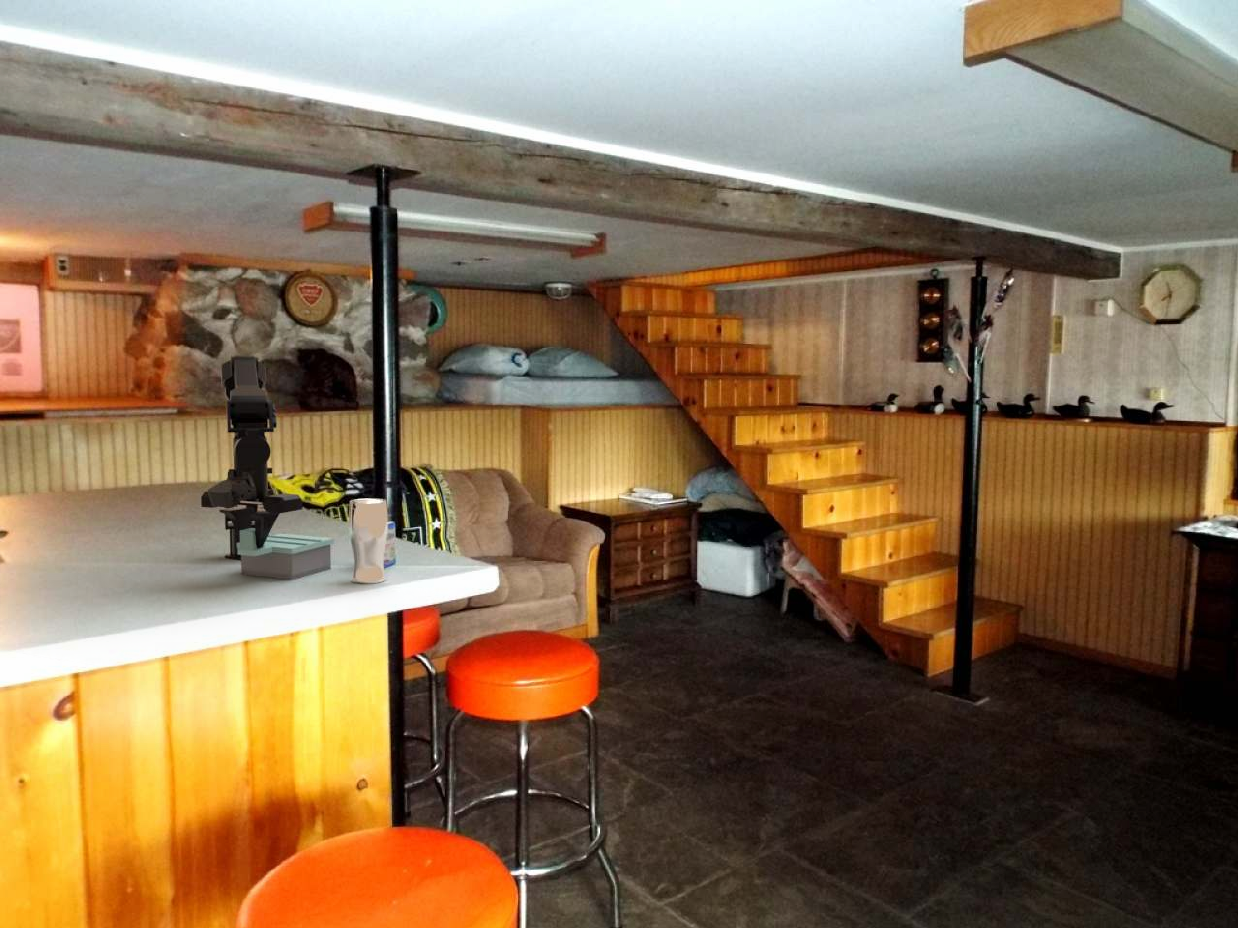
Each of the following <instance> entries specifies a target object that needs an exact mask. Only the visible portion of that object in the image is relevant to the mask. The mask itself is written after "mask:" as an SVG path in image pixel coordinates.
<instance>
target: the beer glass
mask: <svg viewBox="0 0 1238 928" xmlns="http://www.w3.org/2000/svg"><path fill="white" fill-rule="evenodd" d="M348 512H349V513H348V532H349V539H350V543H351V549H352V553H353V571H352V578H351V581H352V582H353V583H355V584H360V585H363V584H364V585H368V584H369V585H370V584H371V585H372V584H378V583H379V584H380V583H383V582H385V581H386V579H387V576H386V572H385V568H384V562H383V560H384V550H385V545H386V539H387V531H388V522H389V521H388V520H389V517H388V506H387V499H385V498H370V497H369V498H357V499H356V498H355V499H351V500H350V501H349V511H348Z"/></svg>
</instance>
